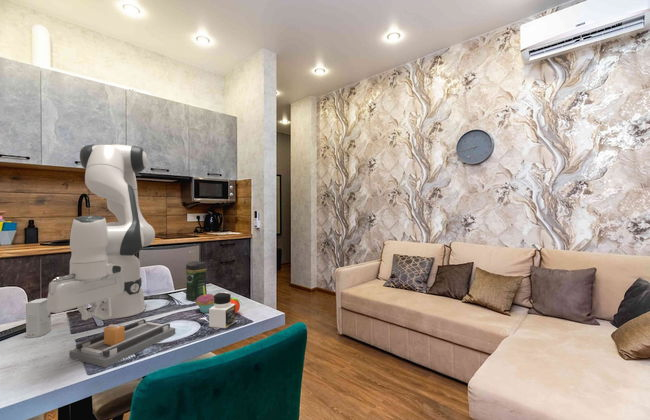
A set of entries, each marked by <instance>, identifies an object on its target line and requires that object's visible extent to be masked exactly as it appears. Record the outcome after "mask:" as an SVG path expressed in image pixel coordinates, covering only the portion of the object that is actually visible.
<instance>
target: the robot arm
mask: <svg viewBox="0 0 650 420" xmlns="http://www.w3.org/2000/svg"><path fill="white" fill-rule="evenodd" d="M79 161H80V163H81V166H82V168H83V169H85V174H84V184H85V186H86V187H87V189H88V190H89V191H90V192H91V193H92V194H94V195H95V196H98V197H100V198H103V199H106V207H107V210H109V212H111V213H112V214H113V215H114V216H115V217H116V220H117V221H110V222H107V221H106V218H105V216H102V215H95V214H94V215H93V214H92V215H81V216H77V217H75V218H73V220H72V224H71V230H70V235H69V236H70V238H69V249H70V251H71V256H70V260H69V274H66V275H63V276H56V277H55V278H54V279H52V280H51V281H50V282H49V284H48V294H47V297H46V298H47V305H46V309H47V310H48V311H49V312H51V313H55V314H58V313H59V314H60V313H63V312H65V311H70V310H73V309H76V308H77V310H78V312H80V314H81V320H82V321H87V320H90V319H93V318H97V319H99V320H101V321H106V320H112V319H122V318H127V317H132V316H135V315H138V314H141V313H142V312H144V311H145V308H146V307H147V303H145V297H144V291H143V288H141V287H142V286H143V285H142V283H143V281H142V277H141V261H140V259H139V257H137V256H136V255H137V254H138V253H139V252H141V250H143V249H144V247H148V246H150V245H151V244H152V243H153V242H154V240H155V238H156V231H155V228H154V227H153V226H152V225H151V224H149V222H147V220H146V219H145V218H144V216H143V213H142V211H141V209H140V204H139V193H138V182H137V178H136V176H137V175H139V173H141V172H143V171H144V170H145V169H146V166H147V164H148V156H147V154H146V151H145V149H144V148H142V147H141V146H138V145H127V144H87V145H85V146H83V147H82V148H81V149H80V151H79ZM89 305H91V306H90V309H89V311H88V310H87V309H88V307H89Z"/></svg>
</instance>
